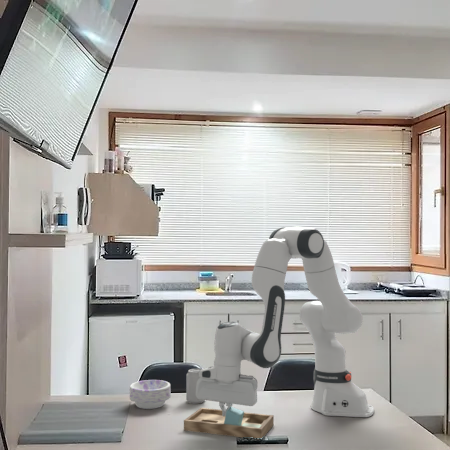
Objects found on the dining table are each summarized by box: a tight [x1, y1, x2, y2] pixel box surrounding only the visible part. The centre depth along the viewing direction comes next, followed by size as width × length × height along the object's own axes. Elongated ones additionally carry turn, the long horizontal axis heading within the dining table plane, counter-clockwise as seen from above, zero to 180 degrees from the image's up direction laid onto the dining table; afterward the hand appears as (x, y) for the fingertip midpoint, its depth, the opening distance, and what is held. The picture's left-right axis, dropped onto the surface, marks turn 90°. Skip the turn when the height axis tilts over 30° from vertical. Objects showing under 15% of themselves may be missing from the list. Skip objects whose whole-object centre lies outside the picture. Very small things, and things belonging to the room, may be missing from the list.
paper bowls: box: [129, 379, 172, 410], centre depth 209 cm, size 15×15×8 cm
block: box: [224, 406, 245, 426], centre depth 179 cm, size 4×4×4 cm
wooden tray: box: [183, 407, 275, 438], centre depth 183 cm, size 26×15×3 cm, turn 71°
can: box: [185, 368, 206, 405], centre depth 214 cm, size 8×8×12 cm
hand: (225, 416), depth 180 cm, fingers closed
